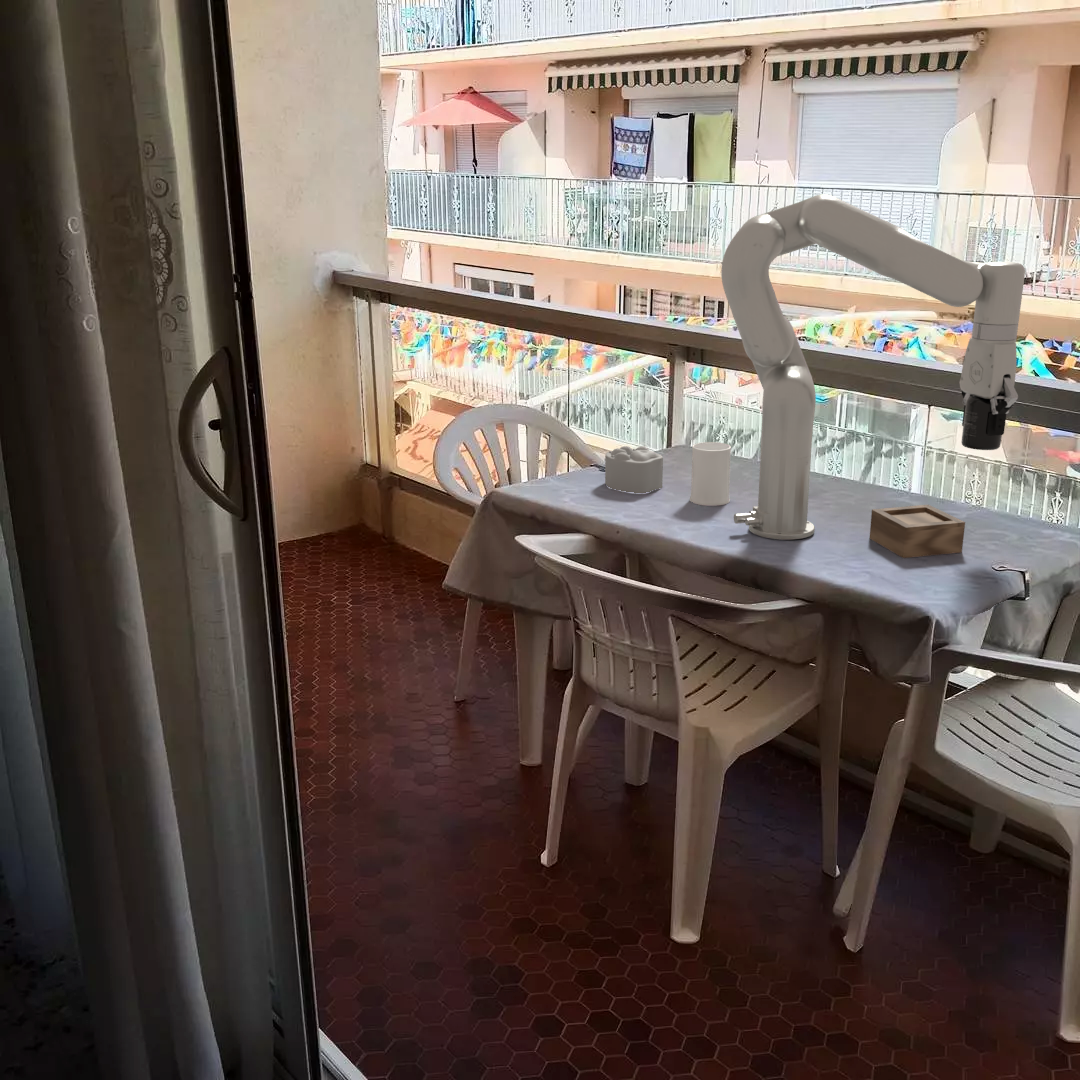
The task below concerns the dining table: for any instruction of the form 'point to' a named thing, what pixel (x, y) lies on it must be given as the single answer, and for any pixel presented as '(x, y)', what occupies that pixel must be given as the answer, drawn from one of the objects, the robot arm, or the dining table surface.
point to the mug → (710, 474)
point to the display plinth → (917, 531)
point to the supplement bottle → (978, 425)
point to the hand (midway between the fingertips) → (982, 429)
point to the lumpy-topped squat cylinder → (633, 469)
